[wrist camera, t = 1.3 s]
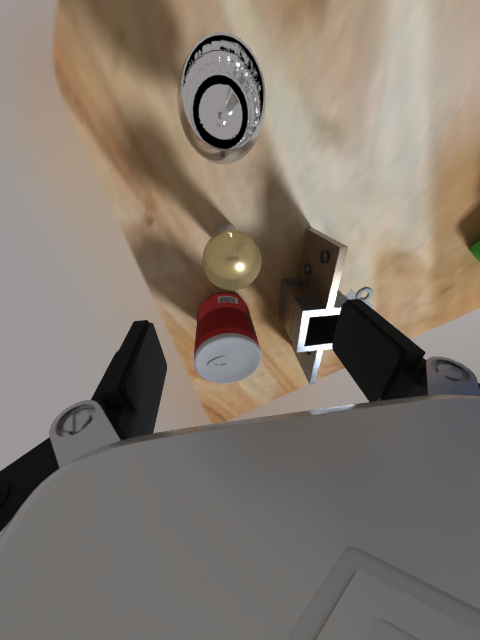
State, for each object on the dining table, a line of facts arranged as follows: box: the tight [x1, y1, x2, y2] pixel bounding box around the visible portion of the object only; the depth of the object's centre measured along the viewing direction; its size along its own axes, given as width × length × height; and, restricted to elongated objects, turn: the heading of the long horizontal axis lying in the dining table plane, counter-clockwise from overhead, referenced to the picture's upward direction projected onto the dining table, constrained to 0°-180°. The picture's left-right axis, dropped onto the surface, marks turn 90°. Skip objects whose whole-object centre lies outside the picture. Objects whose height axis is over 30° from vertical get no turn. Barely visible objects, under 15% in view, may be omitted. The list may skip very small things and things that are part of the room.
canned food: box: [194, 292, 261, 383], centre depth 29 cm, size 8×8×11 cm
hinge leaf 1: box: [284, 228, 348, 338], centre depth 28 cm, size 13×6×9 cm, turn 2°
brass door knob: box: [203, 223, 262, 290], centre depth 23 cm, size 5×5×10 cm
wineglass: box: [177, 32, 266, 164], centre depth 17 cm, size 6×6×12 cm
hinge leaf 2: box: [279, 278, 349, 384], centre depth 32 cm, size 13×6×9 cm, turn 2°
